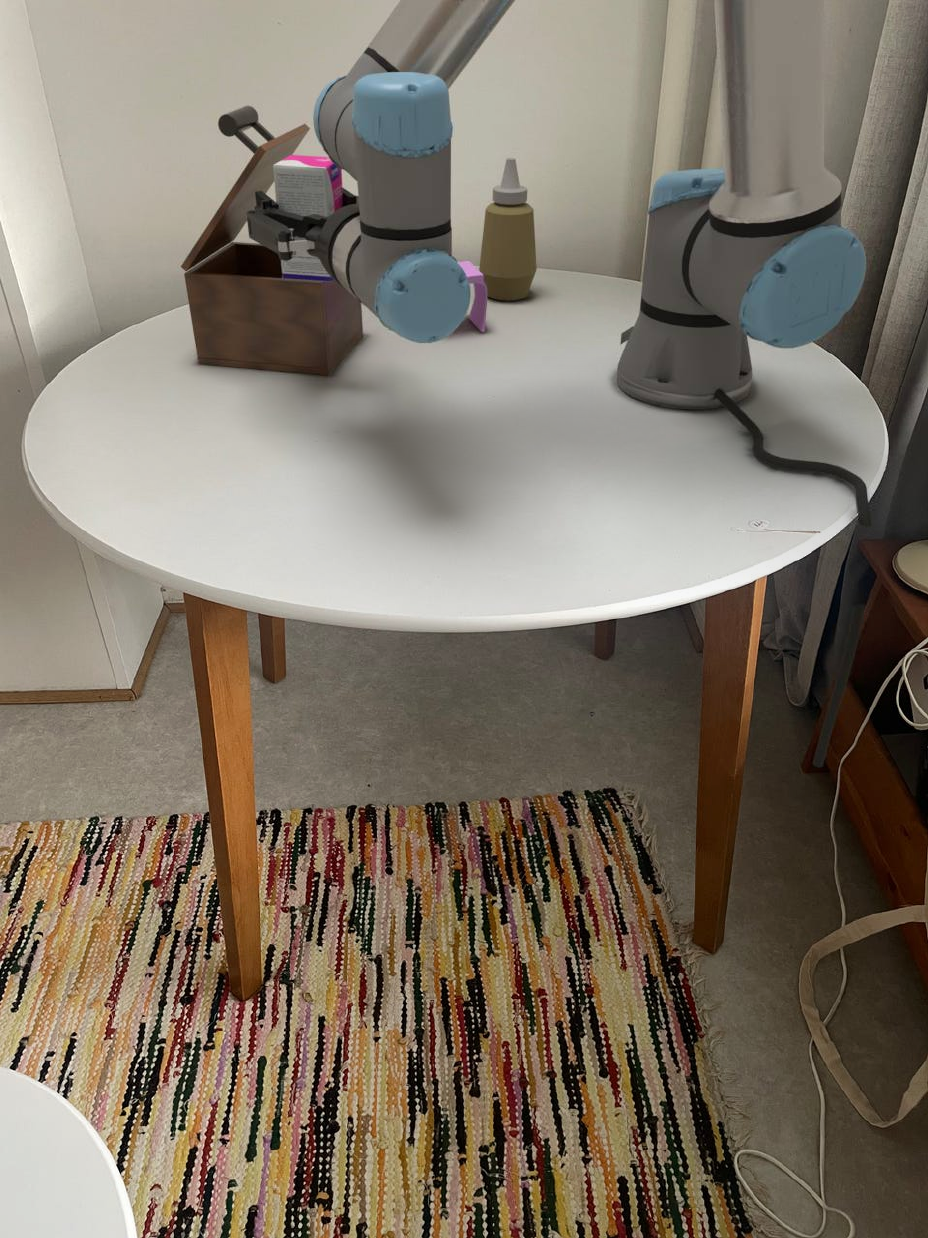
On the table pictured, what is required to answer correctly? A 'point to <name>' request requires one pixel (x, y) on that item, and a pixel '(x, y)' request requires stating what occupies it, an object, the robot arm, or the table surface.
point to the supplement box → (307, 204)
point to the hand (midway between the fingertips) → (297, 200)
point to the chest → (268, 314)
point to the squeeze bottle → (508, 239)
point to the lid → (244, 180)
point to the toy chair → (476, 294)
